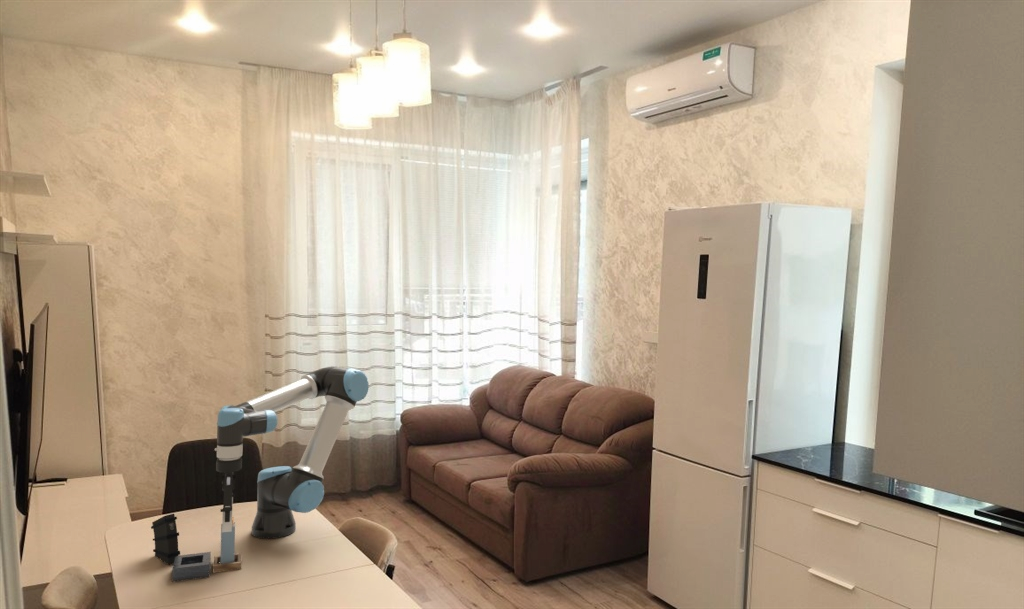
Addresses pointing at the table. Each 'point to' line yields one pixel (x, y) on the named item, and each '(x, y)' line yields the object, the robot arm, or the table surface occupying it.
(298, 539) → the table surface
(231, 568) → the brown square frame
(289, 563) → the table surface
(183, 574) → the port
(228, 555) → the plug
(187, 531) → the table surface
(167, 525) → the magazine
